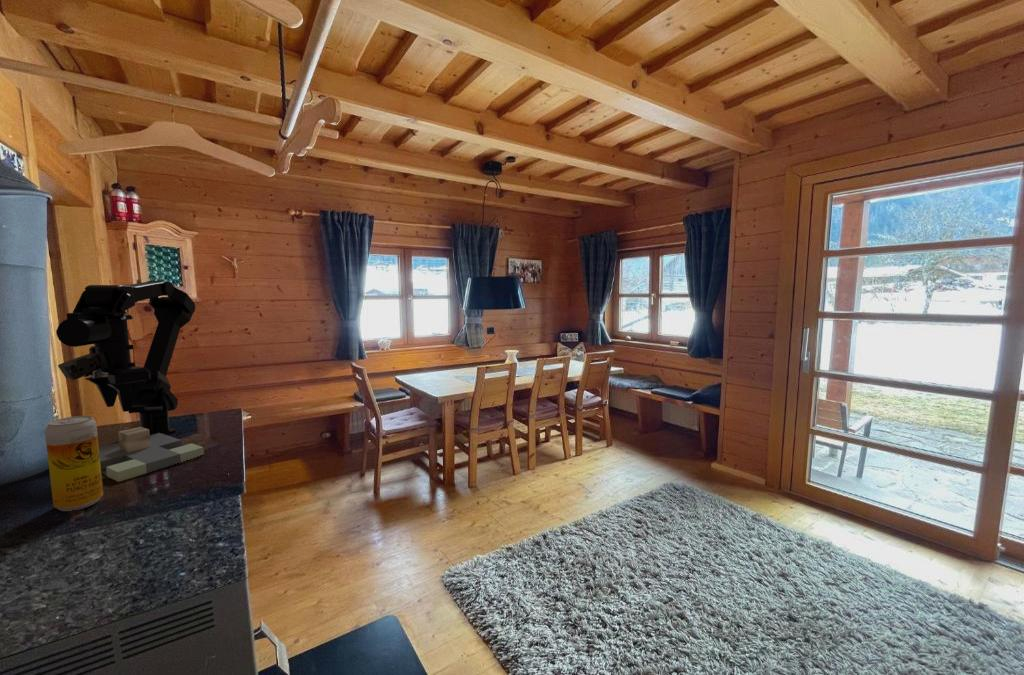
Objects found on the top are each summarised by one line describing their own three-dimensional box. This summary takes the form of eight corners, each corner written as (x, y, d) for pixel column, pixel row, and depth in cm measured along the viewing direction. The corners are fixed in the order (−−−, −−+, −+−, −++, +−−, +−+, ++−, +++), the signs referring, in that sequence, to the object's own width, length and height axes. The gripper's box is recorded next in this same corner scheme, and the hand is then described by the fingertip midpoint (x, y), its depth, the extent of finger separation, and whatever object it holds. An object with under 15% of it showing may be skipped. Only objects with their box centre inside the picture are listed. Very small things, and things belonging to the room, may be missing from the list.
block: (119, 449, 93) (118, 431, 93) (142, 443, 97) (140, 426, 96) (128, 452, 92) (126, 434, 91) (150, 446, 95) (149, 429, 95)
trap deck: (76, 461, 91) (75, 453, 91) (159, 440, 105) (159, 432, 104) (118, 481, 82) (117, 472, 82) (203, 455, 95) (203, 447, 95)
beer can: (71, 514, 70) (62, 426, 68) (44, 510, 71) (33, 424, 70) (112, 497, 76) (105, 416, 74) (86, 494, 77) (78, 413, 76)
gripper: (44, 342, 92) (52, 412, 94) (80, 348, 84) (88, 424, 85) (110, 337, 102) (116, 400, 104) (149, 342, 93) (154, 411, 95)
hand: (118, 408), depth 97 cm, fingers open, 8 cm apart
